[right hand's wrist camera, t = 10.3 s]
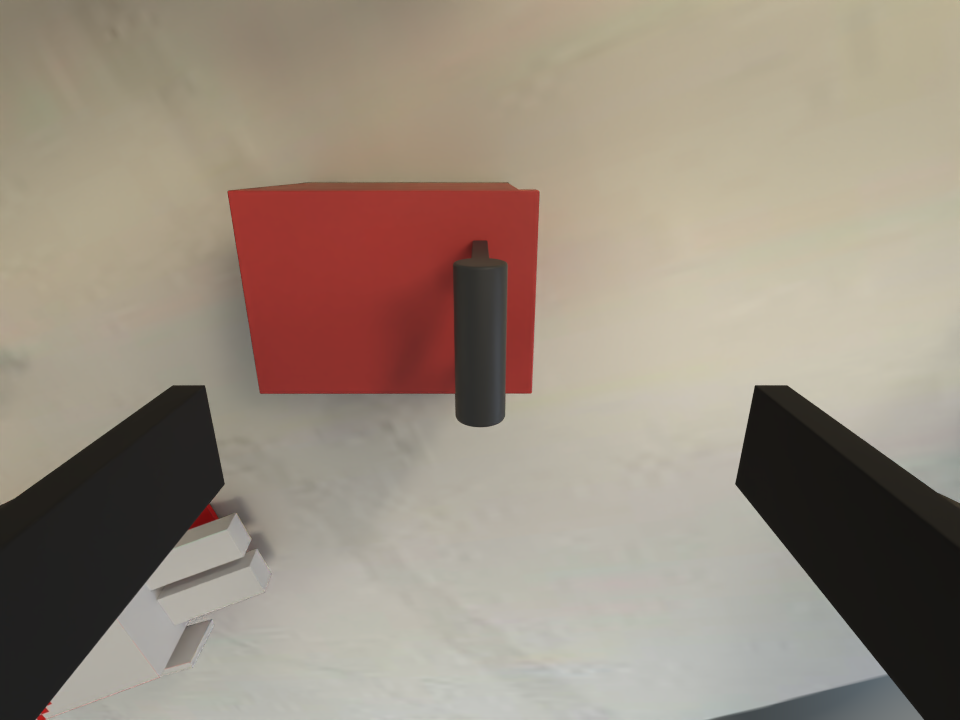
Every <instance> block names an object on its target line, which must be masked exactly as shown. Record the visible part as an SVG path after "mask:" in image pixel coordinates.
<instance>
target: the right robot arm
mask: <svg viewBox="0 0 960 720" xmlns="http://www.w3.org/2000/svg"><path fill="white" fill-rule="evenodd" d="M224 484H225V483H224V478H223V473H222V468H221V463H220V458H219V453H218V448H217V443H216V438H215V433H214V428H213V423H212V418H211V413H210V408H209V403H208V398H207V393H206V388H205V385H173V386H171V387H170V388H169V389H167V390H166V391H164V392H163V393H162V394H160V395H159V396H157V397H156V398H155V399H153V400H152V401H150V402H149V403H148V404H146V405H145V406H143V407H142V408H141V409H139V410H138V411H136V412H135V413H134V414H132V415H131V416H129V417H128V418H127V419H125V420H124V421H122V422H121V423H120V424H118V425H117V426H115V427H114V428H113V429H111V430H110V431H108V432H107V433H106V434H104V435H103V436H101V437H100V438H99V439H97V440H96V441H94V442H93V443H92V444H90V445H89V446H88V447H86V448H85V449H83V450H82V451H81V452H79V453H78V454H76V455H75V456H74V457H72V458H71V459H69V460H68V461H67V462H65V463H64V464H62V465H61V466H60V467H58V468H57V469H55V470H54V471H53V472H51V473H50V474H48V475H47V476H46V477H44V478H43V479H41V480H40V481H39V482H37V483H36V484H34V485H33V486H32V487H30V488H29V489H27V490H26V491H25V492H23V493H22V494H20V495H19V496H18V497H16V498H15V499H13V500H11V501H9V502H7V503H5V504H3V505H1V506H0V720H36V719H37V718H38V716H39V715H40V714H41V713H42V711H43V710H44V709H45V708H46V706H47V705H48V704H49V703H50V701H51V700H52V699H53V698H54V696H55V695H56V694H57V693H58V691H59V690H60V689H61V688H62V686H63V685H64V684H65V683H66V681H67V680H68V679H69V678H70V676H71V675H72V674H73V673H74V671H75V670H76V669H77V668H78V666H79V665H80V664H81V663H82V661H83V660H84V659H85V658H86V656H87V655H88V654H89V653H90V651H91V650H92V649H93V648H94V646H95V645H96V644H97V643H98V641H99V640H100V639H101V638H102V637H103V635H104V634H105V633H106V632H107V630H108V629H109V628H110V627H111V625H112V624H113V623H114V622H115V620H116V619H117V618H118V617H119V615H120V614H121V613H122V612H123V610H124V609H125V608H126V607H127V605H128V604H129V603H130V602H131V600H132V599H133V598H134V597H135V595H136V594H137V593H138V592H139V590H140V589H141V588H142V587H143V585H144V584H145V583H146V582H147V580H148V579H149V578H150V577H151V575H152V574H153V573H154V572H155V570H156V569H157V568H158V567H159V565H160V564H161V563H162V562H163V560H164V559H165V558H166V557H167V555H168V554H169V553H170V552H171V550H172V549H173V548H174V547H175V545H176V544H177V543H178V542H179V540H180V539H181V538H182V537H183V536H184V534H185V533H186V532H187V531H188V529H189V528H190V527H191V526H192V524H193V523H194V522H195V521H196V519H197V518H198V517H199V516H200V514H201V513H202V512H203V511H204V509H205V508H206V507H207V506H208V504H209V503H210V502H211V501H212V499H213V498H214V497H215V496H216V494H217V493H218V492H219V491H220V489H221V488H222V487H223V486H224ZM735 484H736V486H737V487H738V488H739V489H740V491H741V492H742V493H743V494H744V496H745V497H746V498H747V499H748V501H749V502H750V503H751V504H752V506H753V507H754V508H755V509H756V511H757V512H758V513H759V514H760V516H761V517H762V518H763V519H764V521H765V522H766V523H767V524H768V526H769V527H770V528H771V529H772V531H773V532H774V533H775V534H776V536H777V537H778V538H779V539H780V540H781V542H782V543H783V544H784V545H785V547H786V548H787V549H788V550H789V552H790V553H791V554H792V555H793V557H794V558H795V559H796V560H797V562H798V563H799V564H800V565H801V567H802V568H803V569H804V570H805V572H806V573H807V574H808V575H809V577H810V578H811V579H812V580H813V582H814V583H815V584H816V585H817V587H818V588H819V589H820V590H821V592H822V593H823V594H824V595H825V597H826V598H827V599H828V600H829V602H830V603H831V604H832V605H833V607H834V608H835V609H836V610H837V612H838V613H839V614H840V615H841V617H842V618H843V619H844V620H845V622H846V623H847V624H848V625H849V627H850V628H851V629H852V630H853V632H854V633H855V634H856V635H857V637H858V638H859V639H860V640H861V641H862V643H863V644H864V645H865V646H866V648H867V649H868V650H869V651H870V653H871V654H872V655H873V656H874V658H875V659H876V660H877V661H878V663H879V664H880V665H881V666H882V668H883V669H884V670H885V671H886V673H887V674H888V675H889V676H890V678H891V679H892V680H893V681H894V683H895V684H896V685H897V686H898V688H899V689H900V690H901V691H902V693H903V694H904V695H905V696H906V698H907V699H908V700H909V701H910V703H911V704H912V705H913V706H914V708H915V709H916V710H917V711H918V713H919V714H920V715H921V716H922V718H923V719H924V720H960V503H958V502H956V501H954V500H952V499H950V498H948V497H946V496H943V495H941V494H939V493H937V492H935V491H934V490H933V489H931V488H930V487H928V486H927V485H926V484H924V483H923V482H921V481H920V480H919V479H917V478H916V477H914V476H913V475H912V474H910V473H909V472H907V471H906V470H905V469H903V468H902V467H900V466H899V465H898V464H896V463H895V462H893V461H892V460H891V459H889V458H888V457H886V456H885V455H884V454H882V453H881V452H879V451H878V450H877V449H875V448H874V447H872V446H871V445H870V444H868V443H867V442H865V441H864V440H863V439H861V438H860V437H859V436H857V435H856V434H854V433H853V432H852V431H850V430H849V429H847V428H846V427H845V426H843V425H842V424H840V423H839V422H838V421H836V420H835V419H833V418H832V417H831V416H829V415H828V414H826V413H825V412H824V411H822V410H821V409H819V408H818V407H817V406H815V405H814V404H812V403H811V402H810V401H808V400H807V399H805V398H804V397H803V396H801V395H800V394H798V393H797V392H796V391H794V390H793V389H791V388H790V387H789V386H787V385H755V388H754V393H753V398H752V403H751V408H750V413H749V418H748V423H747V428H746V433H745V438H744V443H743V448H742V453H741V458H740V463H739V468H738V473H737V478H736V483H735Z"/></svg>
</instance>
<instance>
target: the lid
mask: <svg viewBox="0 0 960 720" xmlns="http://www.w3.org/2000/svg"><path fill="white" fill-rule="evenodd" d="M228 198H229V204H230V210H231V216H232V222H233V229H234V235H235V241H236V247H237V254H238V260H239V266H240V272H241V278H242V285H243V291H244V297H245V303H246V310H247V316H248V322H249V328H250V334H251V341H252V347H253V353H254V359H255V365H256V372H257V378H258V384H259V390H260V393H261V394H455V407H456V418H457V420H458V421H459V422H461V423H462V424H465V425H468V426H472V427H488V426H493V425H496V424H498V423H500V422H501V421H502V420H503V419H504V417H505V393H532V376H533V349H534V323H535V296H536V270H537V244H538V217H539V191H538V190H229V191H228Z"/></svg>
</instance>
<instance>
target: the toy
mask: <svg viewBox="0 0 960 720" xmlns="http://www.w3.org/2000/svg"><path fill="white" fill-rule="evenodd" d="M251 540H252V539H251V537H250V535H249V534H248V532H247V530H246V529H245V527H244V525H243V523H242V522H241V520H240V518H239V517H238V515H237V513H234V514H231V515H228V516H225V517H223V518H220V519H219V518H218V517H217V515H216V513H215V512H214V510H213V509H212V507H211V506H210V504H208V506H207V507H206V508H205V509H204V511H203V512H202V513H201V514H200V516H199V517H198V518H197V519H196V521H195V522H194V523H193V524H192V526H191V527H190V528H189V529H188V531H187V532H186V533H185V534H184V536H183V537H182V538H181V539H180V540H179V542H178V543H177V544H176V545H175V547H174V548H173V549H172V550H171V552H170V553H169V554H168V555H167V557H166V558H165V559H164V560H163V562H162V563H161V564H160V565H159V567H158V568H157V569H156V570H155V572H154V573H153V574H152V575H151V577H150V578H149V579H148V580H147V582H146V583H145V584H144V585H143V587H142V588H141V589H140V590H139V592H138V593H137V594H136V595H135V597H134V598H133V599H132V600H131V602H130V603H129V604H128V605H127V607H126V608H125V609H124V610H123V612H122V613H121V614H120V615H119V617H118V618H117V619H116V620H115V622H114V623H113V624H112V625H111V627H110V628H109V629H108V630H107V632H106V633H105V634H104V635H103V637H102V638H101V639H100V640H99V641H98V643H97V644H96V645H95V646H94V648H93V649H92V650H91V651H90V653H89V654H88V655H87V656H86V658H85V659H84V660H83V661H82V663H81V664H80V665H79V666H78V668H77V669H76V670H75V671H74V673H73V674H72V675H71V676H70V678H69V679H68V680H67V681H66V683H65V684H64V685H63V686H62V688H61V689H60V690H59V691H58V693H57V694H56V695H55V696H54V698H53V699H52V700H51V701H50V703H49V704H48V705H47V706H46V708H45V709H44V710H43V711H42V713H41V714H40V715H39V716H38V718H37V719H36V720H46V719H48V718H51V717H54V716H56V715H59V714H62V713H65V712H67V711H70V710H73V709H75V708H78V707H81V706H84V705H86V704H89V703H92V702H94V701H97V700H100V699H103V698H105V697H108V696H111V695H113V694H116V693H119V692H122V691H124V690H127V689H130V688H132V687H135V686H138V685H141V684H143V683H146V682H149V681H151V680H154V679H157V678H160V677H161V676H164V675H168V674H172V673H175V672H179V671H182V670H186V669H190V668H193V666H194V664H195V662H196V660H197V658H198V656H199V654H200V652H201V650H202V648H203V646H204V644H205V642H206V640H207V638H208V636H209V634H210V632H211V630H212V628H213V626H214V622H213V620H208V621H204V622H201V623H197V624H193V625H190V626H187V624H188V622H189V620H191V619H193V618H196V617H199V616H202V615H204V614H207V613H210V612H212V611H215V610H218V609H221V608H223V607H226V606H229V605H232V604H234V603H237V602H240V601H242V600H245V599H248V598H251V597H253V596H256V595H259V594H262V593H264V592H265V591H266V588H267V585H268V583H269V580H270V577H271V574H272V573H271V571H270V570H269V568H268V566H267V565H266V563H265V561H264V559H263V558H262V556H261V554H260V553H259V551H258V549H254V550H251V551H249V552H246V551H247V548H248V546H249V544H250V542H251Z"/></svg>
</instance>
